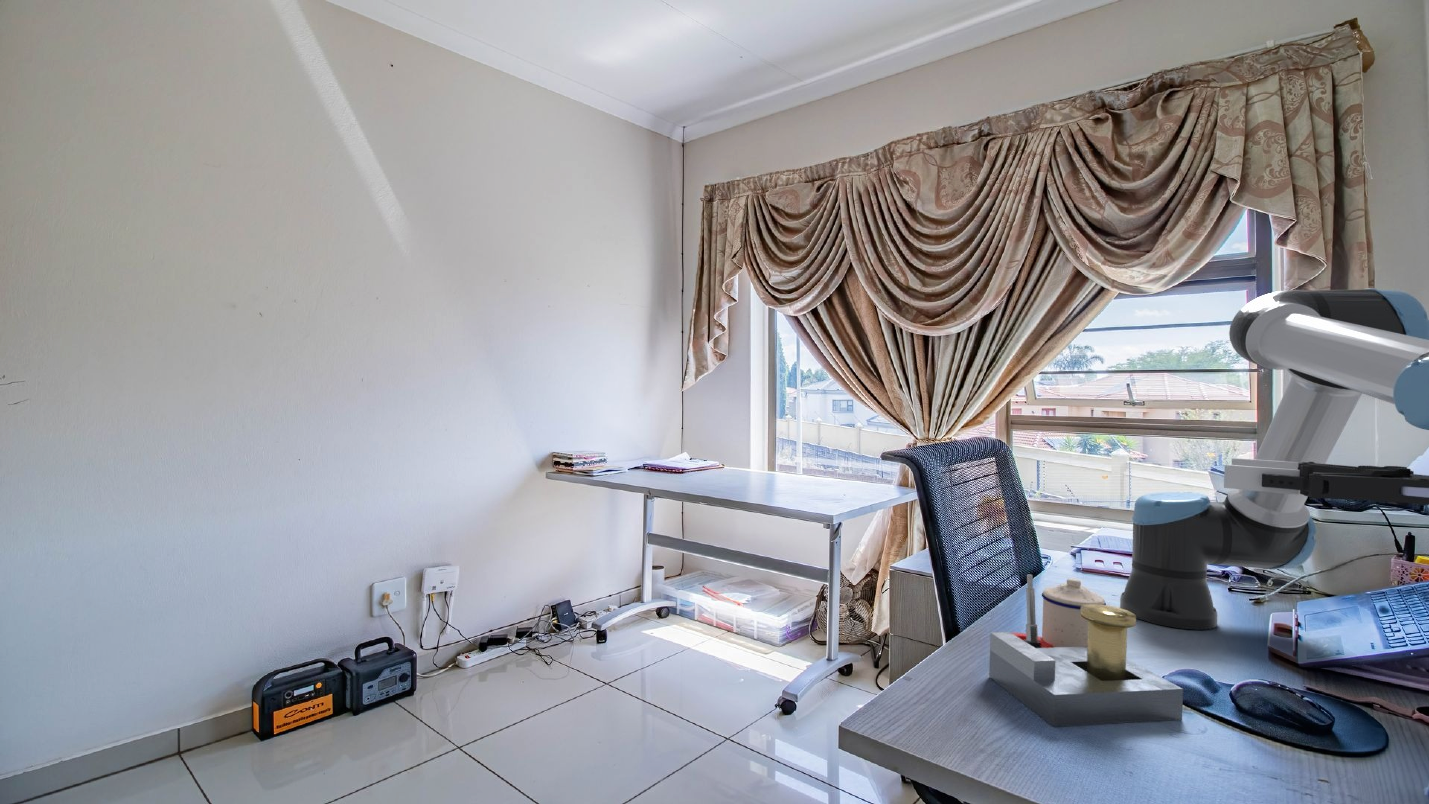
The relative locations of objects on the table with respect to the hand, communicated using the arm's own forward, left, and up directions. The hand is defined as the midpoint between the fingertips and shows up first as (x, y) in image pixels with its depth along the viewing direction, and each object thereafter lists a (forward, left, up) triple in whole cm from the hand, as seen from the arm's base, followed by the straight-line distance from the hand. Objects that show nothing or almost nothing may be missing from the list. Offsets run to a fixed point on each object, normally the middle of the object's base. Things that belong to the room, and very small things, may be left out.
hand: (1227, 471), depth 80 cm
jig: (+13, -8, -32) cm, 36 cm away
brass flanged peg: (+10, -7, -32) cm, 34 cm away
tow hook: (+10, -24, -32) cm, 42 cm away
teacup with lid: (+2, -24, -32) cm, 40 cm away
